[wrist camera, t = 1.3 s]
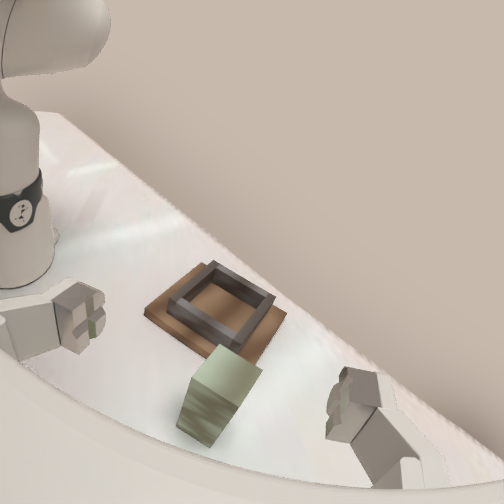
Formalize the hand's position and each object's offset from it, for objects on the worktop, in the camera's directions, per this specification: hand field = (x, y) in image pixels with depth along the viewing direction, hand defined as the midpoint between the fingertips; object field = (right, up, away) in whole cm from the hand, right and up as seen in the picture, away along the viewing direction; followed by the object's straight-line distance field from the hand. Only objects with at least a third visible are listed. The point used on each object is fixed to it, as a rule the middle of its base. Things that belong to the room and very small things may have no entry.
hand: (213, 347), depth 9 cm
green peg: (-4, -16, +21) cm, 27 cm away
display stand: (-4, -7, +35) cm, 36 cm away
